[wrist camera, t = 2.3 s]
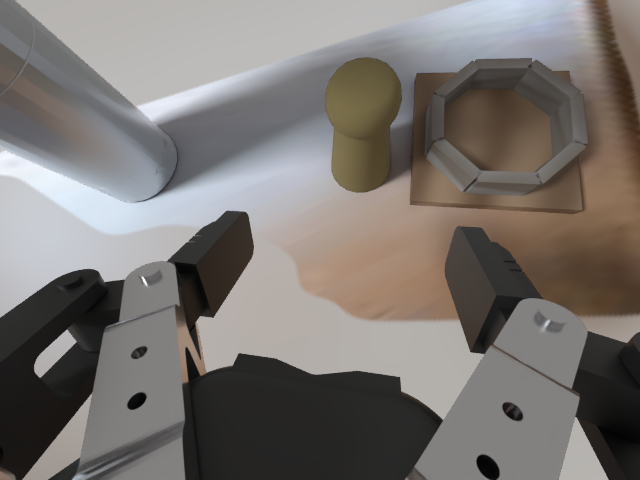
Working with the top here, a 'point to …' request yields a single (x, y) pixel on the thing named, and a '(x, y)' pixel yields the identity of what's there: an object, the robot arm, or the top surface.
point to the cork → (362, 122)
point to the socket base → (498, 138)
